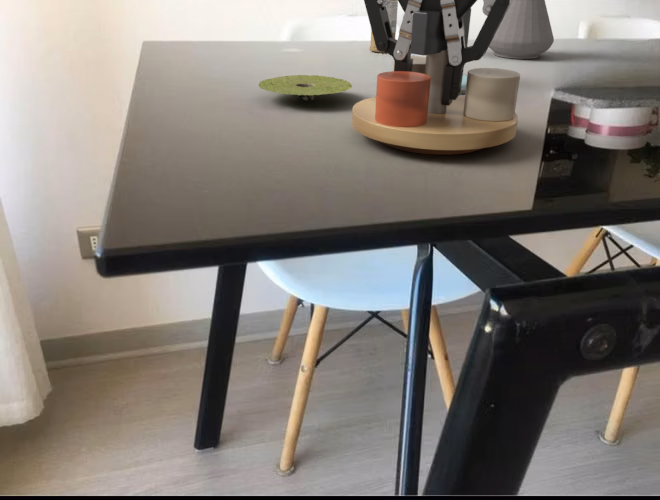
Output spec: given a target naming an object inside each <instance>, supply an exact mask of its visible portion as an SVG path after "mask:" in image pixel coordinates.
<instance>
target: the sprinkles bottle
mask: <svg viewBox="0 0 660 500" xmlns="http://www.w3.org/2000/svg"><path fill="white" fill-rule="evenodd" d="M398 6H399V1H398V0H390V4H389V5H388V6H386V9H387V13H388V17H389V21H390V25H391V29H392V33H393V37H394V39H396V32H397V22H398V8H399V7H398ZM369 51H370V52H374V53H382V54H387V53H386V52H380V51H378V50H377V48H376V45H375V41H374V37H373V33H372V29H371V28H370V46H369Z"/></svg>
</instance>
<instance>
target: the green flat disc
mask: <svg viewBox="0 0 660 500" xmlns="http://www.w3.org/2000/svg"><path fill="white" fill-rule="evenodd" d="M258 87H259V88H260V89H262V90H265V91H267V92H270V93H278V94H280V95H281V94H282V95H291V96H293V95H295V96H297V98H298V99H303V100H304V101H308V100H309V98H310V100H313V101H314V100H315V96H320V95H321V96H322V95H333V94H338V93H342V92H347V91H349V90H351V89H352V88H353V85H352V83H351V82H350V81H348V80H345V79H342V78H338V77H333V76H326V75H325V76H324V75H318V74H317V75H315V74H313V75H307V74H297V75H294V74H293V75H292V74H291V75H283V76H276V77H271V78H267V79H263V80H260V82H259V83H258Z"/></svg>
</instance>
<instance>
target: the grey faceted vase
mask: <svg viewBox="0 0 660 500" xmlns="http://www.w3.org/2000/svg"><path fill="white" fill-rule="evenodd" d="M554 42H555V39H554V34H553V30H552V25H551V21H550V17H549V13H548V8H547V4H546V0H512V2H511V4H510V6H509V8H508V10H507V12H506V14H505V16H504V18H503V20H502V22H501V24H500V26H499V28H498V30H497V32H496V33H495V35H494V37H493V39H492V41H491V43H490V45H489V47H488V49H489V50H491V51H492V52H493V55H494V56H497V57H500V58H507V59H517V60H532V59H538V58H540V57H541V55H542V54H544V53H546V52H547V51H548V50H549V49H551V47H552V45H553V44H554ZM539 56H540V57H539ZM537 57H538V58H537Z"/></svg>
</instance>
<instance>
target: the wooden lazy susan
mask: <svg viewBox="0 0 660 500" xmlns="http://www.w3.org/2000/svg"><path fill="white" fill-rule="evenodd" d="M471 15H472V7H471V8H470V9H469V10H468V12H467V13H466V14H465V15H464V16H463V21H464V40H465V48H466V47H468V44H469V36H470V35H469V33H470V26H471V25H470V24H471ZM458 25H459V22H458ZM451 27H452V25H451ZM410 53H411V54H418V55H426V57H423V56H411V59H413V66H412V72H407V71H394V64H395V62H394V58H392V67H391V69H392V70H391V71H385V72H383V71H382V72H380V73H378V74H377V75H376V91H375V96H372V97H368V98H365V99H362V100H359V101H358V102H356V103H354V105H353V106H352V111H351V112H352V114H351V126H352V128H353V129H354V131H356V132H357V133H358V134H360V135H362V136H364V137H366V138H369V139H371V140H374V141H377V142H380V143H382V142H384V143H388V144H392V145H398V146H403V147H410V148H418V149H430V150H471V149H480V150H482V149H487V148H492V147H496V146H500V145H503V144H506V143H508V142H510V141H511V140H513V139H514V138H515V137H516V136H517V130H518V124H519V123H518V122H519V115H518V114H517V113H516V106H517V101H518V92H519V86H520V80H521V73H520V72H518V71H516V70H511V69H505V68H496V67H478V68H471V69H469V70H467V75H466V76H467V82H466V91H465V92H464V95H465V96H458V97H457V99H456V100H453V101H452V103H451V104H450V105H449V106H448V105H442V96H443V88H444V80H445V71H446V66H447V65H449V58H448V49H447V41H446V39H445V32H444V23H443V15H442V11H433V10H423V11H414V12H413V22H412V36H411V50H410ZM481 148H482V149H481Z"/></svg>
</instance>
